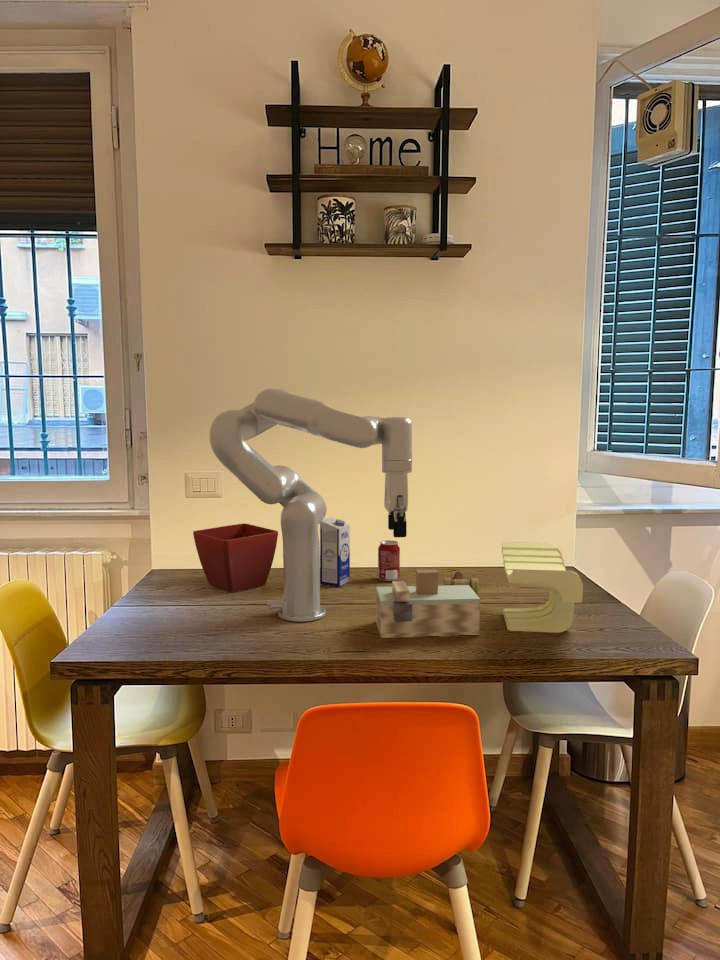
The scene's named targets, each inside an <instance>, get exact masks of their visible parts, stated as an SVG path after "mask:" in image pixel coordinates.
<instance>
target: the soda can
mask: <svg viewBox="0 0 720 960" xmlns="http://www.w3.org/2000/svg"><path fill="white" fill-rule="evenodd" d="M379 543H380V544H379V546H378V549H377V557H378V558H377V561H378V562H377V578H378V579H379V580H380V581H381V582H385V581H399V579H400V574H401V573H400V569H401V566H400V565H401V564H400V563H401V560H400V559H401V557H400V555H401V549H400V546H399V542H398V541H397V540H396V541H395V540H392V539H391V540H388V539H387V540H382V541H379Z"/></svg>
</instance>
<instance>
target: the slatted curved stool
mask: <svg viewBox="0 0 720 960" xmlns="http://www.w3.org/2000/svg"><path fill="white" fill-rule="evenodd" d="M501 553H502V559H503V566H504V572H505V575H506V577H507V581H508V583H509V584H519V585H520V584H521V585H523V584H524V585H531V586H537V587H541V588H543V589H546V590H548V591H549V592H548V593H549V598H548V600H547V602H546V603H545V604H543V605H540V606H539V605H538V606H535V607H526V608H503V609H502V610H503V611H502V615H504V616H503V618H505V619H504V622H506V623H505V625H506V629H508V630H510V632H531V633H532V632H535V633H537V632H538V633H558V634H559V633H563V632H565V631H567V630H568V629H569V628H570V626H571V625H572V623H573V621H574V612H575V603H577V604H578V603H579V604H580V603H581V604H582V603H583V597H584V596H583V595H584V594H583V591H584V584H583V580H582V579H581V577H580V576H579V574H578V573H577V572H575V571H572V570H567V569H566V565H565V563H564V559H563V555H562V552H561V550H560V549H559V547H558V546H557V545H555V544H553V543H551V542H522V541H521V542H520V541H519V542H518V541H501ZM508 630H507V631H508Z"/></svg>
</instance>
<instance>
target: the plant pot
mask: <svg viewBox="0 0 720 960" xmlns="http://www.w3.org/2000/svg"><path fill="white" fill-rule="evenodd" d="M192 534H193V539H194V540H193V541H194V543H195V548H196V551H197V555H198V559H199V562H200V565H201V568H202V571H203V572H204V575H205V578H206V580H207V583H208V585H209V584H210V585H209V586H211V585H212V587H214V588H217V589H219V590H222V591H225V592H228V593H235V592H240V591H244V590H249V589H253V588H257V587H258V588H259V587H262V586H265V585H266V583H267V580H268V579H269V575H270V572H271V568H272V565H273V563H274V559H275V553H276V549H277V543H278V537H279V530H275V529H270V528H268V527H267V528H266V527H262V526H257V525H254V524H250V523H238V524H237V523H236V524H230V525H229V524H228V525H225V526H216V527H212V528H203V529H200V530H194V531H192Z"/></svg>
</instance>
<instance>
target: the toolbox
mask: <svg viewBox="0 0 720 960" xmlns="http://www.w3.org/2000/svg"><path fill="white" fill-rule="evenodd" d="M375 600H376V602H375V603H376V605H375V606H376V607H375V622H376V626H377V629H378V632H379V635H380V638H381V639H388V638H389V639H392V638H393V639H394V638H428V637H427V636H439V637H459V636H458V635H479V636H480V625H481V624H480V619H481V618H480V617H481V615H480V614H481V603H480V604H437V605H412V603H411V601H410V602H397V601H394V605H391V606H381V604H380V601H379V598H378V595H377V592H376V591H375ZM453 635H454V636H453ZM425 636H426V637H425Z"/></svg>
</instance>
